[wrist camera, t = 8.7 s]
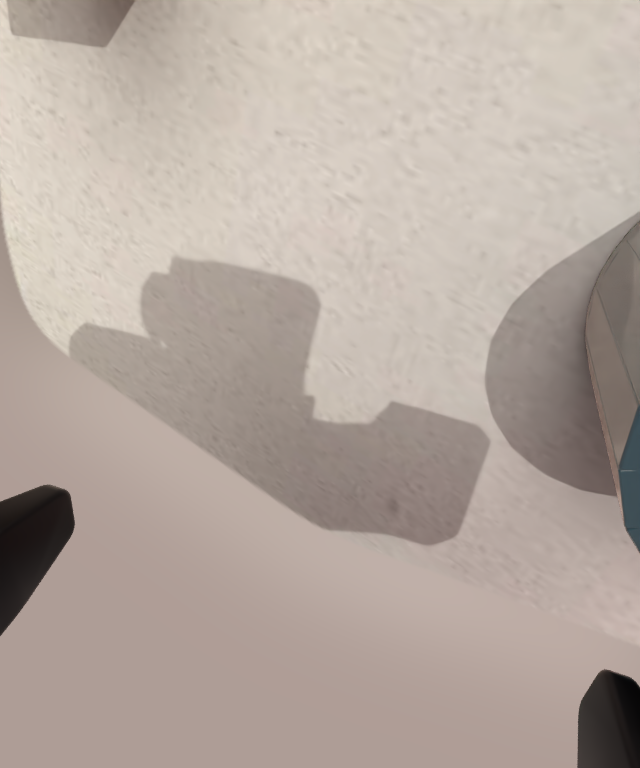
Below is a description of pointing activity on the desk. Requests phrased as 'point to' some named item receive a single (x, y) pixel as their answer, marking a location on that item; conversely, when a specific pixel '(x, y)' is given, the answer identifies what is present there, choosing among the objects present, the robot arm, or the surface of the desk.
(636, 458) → the crock
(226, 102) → the desk surface
